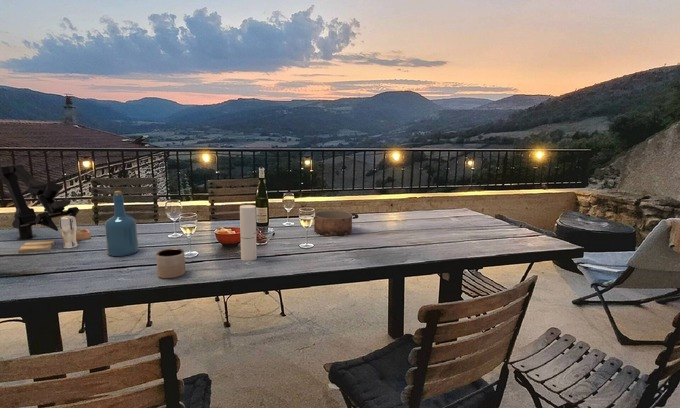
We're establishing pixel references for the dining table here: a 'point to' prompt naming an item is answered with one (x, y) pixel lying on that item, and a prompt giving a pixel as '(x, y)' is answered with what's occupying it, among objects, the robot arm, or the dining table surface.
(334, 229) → the cooking pot
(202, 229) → the dining table surface
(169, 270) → the planter
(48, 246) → the oak board
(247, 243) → the cylindrical container
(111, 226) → the wine bottle
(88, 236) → the terracotta dish
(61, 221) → the metal goblet
